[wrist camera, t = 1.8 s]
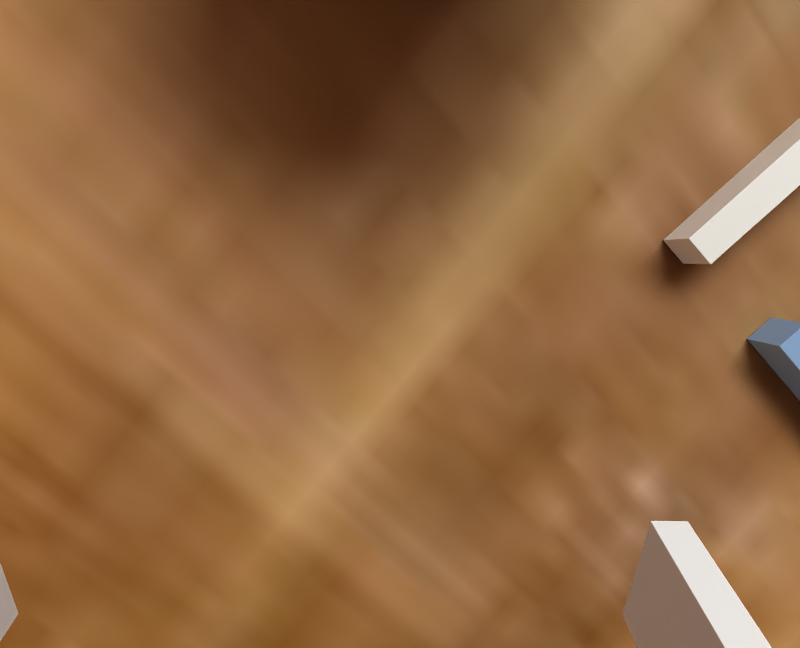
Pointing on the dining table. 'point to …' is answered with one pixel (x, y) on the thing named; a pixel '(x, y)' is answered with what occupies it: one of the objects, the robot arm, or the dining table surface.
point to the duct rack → (734, 216)
